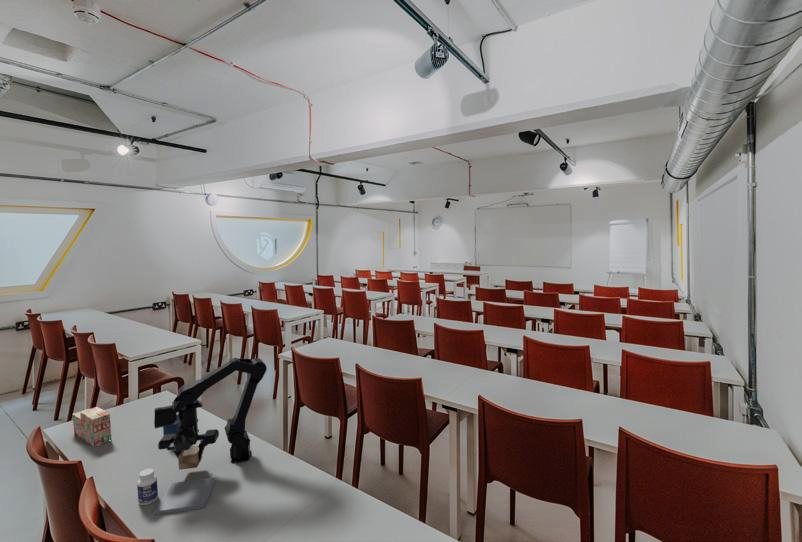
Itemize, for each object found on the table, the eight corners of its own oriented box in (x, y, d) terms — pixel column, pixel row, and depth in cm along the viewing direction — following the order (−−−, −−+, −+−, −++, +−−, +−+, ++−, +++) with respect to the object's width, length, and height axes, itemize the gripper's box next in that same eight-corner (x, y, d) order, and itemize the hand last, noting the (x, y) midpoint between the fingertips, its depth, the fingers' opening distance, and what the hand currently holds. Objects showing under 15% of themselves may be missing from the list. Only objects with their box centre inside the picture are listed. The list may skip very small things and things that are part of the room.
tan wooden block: (202, 458, 140) (201, 445, 140) (197, 467, 134) (196, 454, 134) (184, 460, 139) (184, 447, 139) (178, 469, 133) (178, 456, 133)
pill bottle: (143, 508, 119) (141, 479, 118) (135, 501, 122) (133, 473, 121) (161, 498, 123) (159, 470, 123) (153, 492, 126) (151, 465, 125)
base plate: (215, 480, 132) (215, 477, 132) (203, 508, 119) (202, 504, 118) (172, 485, 129) (172, 482, 129) (154, 515, 116) (154, 511, 116)
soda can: (183, 442, 157) (182, 414, 156) (164, 447, 154) (162, 419, 152) (182, 435, 163) (180, 408, 162) (163, 439, 159) (162, 413, 158)
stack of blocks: (73, 433, 165) (71, 407, 164) (90, 427, 170) (88, 401, 169) (94, 447, 154) (92, 419, 153) (112, 440, 159) (110, 412, 158)
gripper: (149, 434, 125) (152, 478, 127) (209, 428, 129) (211, 470, 131) (163, 419, 136) (166, 459, 138) (218, 413, 140) (220, 453, 141)
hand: (190, 460), depth 137 cm, fingers closed on tan wooden block, 6 cm apart
